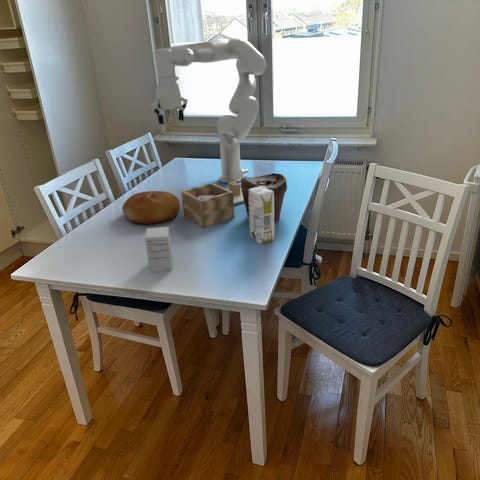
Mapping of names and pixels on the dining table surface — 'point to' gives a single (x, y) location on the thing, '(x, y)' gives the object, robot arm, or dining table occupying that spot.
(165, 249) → the supplement box
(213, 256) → the dining table surface
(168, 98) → the robot arm
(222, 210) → the crate
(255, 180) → the brown plant pot
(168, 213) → the bread
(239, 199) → the lid
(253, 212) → the juice carton
